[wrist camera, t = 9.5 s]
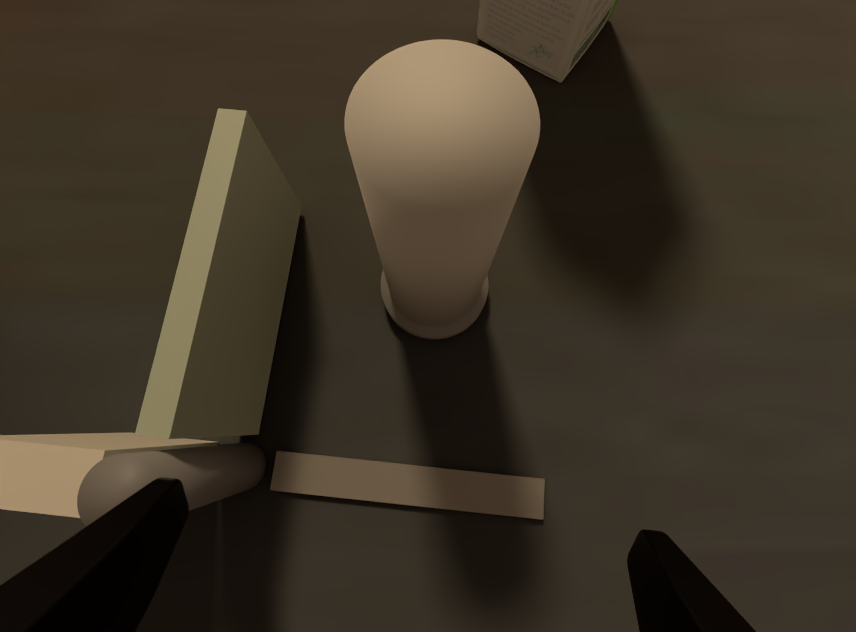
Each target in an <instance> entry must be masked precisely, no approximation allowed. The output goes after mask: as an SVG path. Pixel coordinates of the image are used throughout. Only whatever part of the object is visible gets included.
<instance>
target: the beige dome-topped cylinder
mask: <svg viewBox="0 0 856 632" xmlns="http://www.w3.org/2000/svg"><path fill="white" fill-rule="evenodd" d="M345 134H346V140H347V144H348V147H349V151H350V154H351V158H352V161H353V165H354V168H355V172H356V175H357V179H358V182H359V186H360V189H361V193H362V196H363V200H364V203H365V207H366V210H367V214H368V217H369V221H370V224H371V228H372V231H373V235H374V238H375V242H376V245H377V249H378V252H379V256H380V260H381V263H382V267H383V272H382V276H381V294H382V298H383V301H384V304H385V307H386V309H387V312H388V314H389V315H390V317H391V318H392V320H393V321H394V322H395V323H396V324H397V325H398V326H399V327H400V328H401V329H403V330H404V331H406V332H407V333H409V334H411V335H413V336H416V337H418V338H422V339H428V340H441V339H447V338H450V337H454V336H456V335H458V334H460V333H462V332H463V331H465V330H466V329H468V328H469V327H470V326H471V325H472V324H473V323H474V322H475V321H476V319H477V318H478V316H479V315H480V313H481V311H482V309H483V307H484V305H485V302H486V299H487V295H488V276H487V273H488V271H489V268H490V266H491V263H492V260H493V258H494V255H495V253H496V250H497V248H498V245H499V243H500V240H501V237H502V235H503V232H504V230H505V227H506V225H507V222H508V220H509V217H510V214H511V212H512V209H513V207H514V204H515V202H516V199H517V197H518V194H519V191H520V189H521V186H522V184H523V181H524V179H525V176H526V174H527V171H528V169H529V166H530V163H531V161H532V158H533V156H534V153H535V150H536V147H537V144H538V140H539V135H540V115H539V109H538V105H537V102H536V99H535V96H534V94H533V92H532V90H531V88H530V86H529V85H528V83H527V81H526V80H525V79H524V77H523V76H522V75H521V74H520V73H519V71H518V70H517V69H516V68H514V67H513V66H512V65H511V64H510V63H509V62H508V61H506V60H505V59H503V58H502V57H501V56H499V55H497V54H495V53H494V52H492V51H490V50H488V49H485V48H483V47H480V46H478V45H474V44H471V43H467V42H462V41H456V40H428V41H421V42H416V43H412V44H409V45H406V46H403V47H400V48H398V49H396V50H394V51H392V52H390V53H388V54H386V55H385V56H383V57H382V58H380V59H379V60H377V61H376V62H375V63H374V64H373V65H371V66H370V67H369V68H368V69H367V70H366V71H365V72H364V74H363V75H362V76H361V77H360V79H359V80H358V82H357V83H356V85H355V86H354V88H353V90H352V92H351V94H350V97H349V100H348V103H347V106H346V112H345Z"/></svg>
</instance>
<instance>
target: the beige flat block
mask: <svg viewBox="0 0 856 632" xmlns="http://www.w3.org/2000/svg"><path fill="white" fill-rule="evenodd" d="M300 212H301V205H300V203H299V201H298V200H297V198H296V196H295V194H294V193H293V191H292V189H291V187H290V186H289V184H288V182H287V181H286V179H285V177H284V175H283V174H282V172H281V170H280V168H279V167H278V165H277V163H276V161H275V160H274V158H273V156H272V154H271V153H270V151H269V149H268V147H267V146H266V144H265V142H264V140H263V139H262V137H261V135H260V133H259V132H258V130H257V128H256V126H255V125H254V123H253V121H252V119H251V118H250V116H249V114H248V112H247V111H241V110H230V109H218V111H217V115H216V119H215V123H214V127H213V131H212V135H211V139H210V143H209V147H208V151H207V154H206V158H205V162H204V166H203V170H202V174H201V178H200V182H199V186H198V190H197V194H196V198H195V201H194V205H193V209H192V213H191V217H190V221H189V225H188V229H187V233H186V237H185V241H184V244H183V248H182V252H181V256H180V260H179V264H178V268H177V272H176V276H175V280H174V284H173V288H172V291H171V295H170V299H169V303H168V307H167V311H166V315H165V319H164V323H163V327H162V331H161V335H160V338H159V342H158V346H157V350H156V354H155V358H154V362H153V366H152V370H151V374H150V378H149V381H148V385H147V389H146V393H145V397H144V401H143V405H142V409H141V413H140V417H139V421H138V425H137V428H136V432H135V436H144V437H154V438H163V439H181V438H201V437H221V436H242V435H259V429H260V424H261V419H262V413H263V408H264V403H265V397H266V392H267V387H268V382H269V376H270V371H271V366H272V360H273V355H274V350H275V344H276V339H277V334H278V329H279V323H280V318H281V313H282V307H283V302H284V297H285V291H286V286H287V281H288V276H289V270H290V265H291V260H292V254H293V249H294V244H295V238H296V233H297V228H298V223H299V217H300Z"/></svg>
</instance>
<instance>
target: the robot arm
mask: <svg viewBox="0 0 856 632" xmlns="http://www.w3.org/2000/svg"><path fill="white" fill-rule="evenodd" d="M188 513H189V503H188V500H187V497H186V493H185V490H184V487H183V483H182V482H181V481H180V480H179V479H175V478H166V477H160V478H157V479H155V480H153V481H152V482H150V483H149V484H147V485H146V486H144V487H143V488H141V489H140V490H139V491H137V492H136V493H134V494H133V495H131V496H130V497H128V498H127V499H125V500H124V501H122V502H121V503H120V504H118V505H117V506H115V507H114V508H112V509H111V510H109V511H108V512H106V513H105V514H104V515H102V516H101V517H99V518H98V519H96V520H95V521H93V522H92V523H90V524H89V525H88V526H86V527H85V528H83V529H82V530H80V531H79V532H77V533H76V534H74V535H73V536H72V537H70V538H69V539H67V540H66V541H64V542H63V543H61V544H60V545H58V546H57V547H56V548H54V549H53V550H51V551H50V552H48V553H47V554H45V555H44V556H42V557H41V558H40V559H38V560H37V561H35V562H34V563H32V564H31V565H29V566H28V567H26V568H25V569H24V570H22V571H21V572H19V573H18V574H16V575H15V576H13V577H12V578H10V579H9V580H8V581H6V582H5V583H3V584H2V585H0V632H135V631H136V629H137V627H138V625H139V623H140V621H141V619H142V618H143V616H144V614H145V612H146V610H147V608H148V606H149V604H150V602H151V600H152V598H153V596H154V594H155V592H156V590H157V587H158V585H159V583H160V580H161V578H162V576H163V573H164V571H165V569H166V566H167V564H168V562H169V559H170V557H171V555H172V552H173V550H174V548H175V545H176V543H177V541H178V538H179V536H180V534H181V531H182V529H183V527H184V524H185V522H186V520H187V517H188ZM627 564H628V571H629V577H630V582H631V587H632V593H633V598H634V604H635V609H636V614H637V620H638V625H639V631H640V632H756V631H755V630H754V629H753V628H752V627H751V626H750V625H749V623H748V622H747V621H746V620H745V619H744V618H743V617H742V616H741V615H740V614H739V613H738V611H737V610H736V609H735V608H734V607H733V606H732V605H731V604H730V603H729V602H728V601H727V599H726V598H725V597H724V596H723V595H722V594H721V593H720V592H719V591H718V590H717V589H716V587H715V586H714V585H713V584H712V583H711V582H710V581H709V580H708V579H707V578H706V577H705V576H704V574H703V573H702V572H701V571H700V570H699V569H698V568H697V567H696V566H695V565H694V564H693V562H692V561H691V560H690V559H689V558H688V557H687V556H686V555H685V554H684V553H683V552H682V550H681V549H680V548H679V547H678V546H677V545H676V544H675V543H674V542H673V541H672V540H671V538H670V537H669V536H668V535H666V534H665V533H663V532H661V531H654V530H641V531H640V532H639V533H638V535H637V537H636V539H635V541H634V543H633V545H632V547H631V549H630V552H629V554H628V559H627Z"/></svg>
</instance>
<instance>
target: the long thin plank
mask: <svg viewBox="0 0 856 632" xmlns="http://www.w3.org/2000/svg"><path fill="white" fill-rule="evenodd" d="M266 466H267V462H266V457H265V455H264V453H263V451H262V450H261V449H260V448H259V447H258V446H256V445H254V444H252V443H235V444H224V445H218V442H214V441H204V440H195V439H185V438H181V439H163V438H154V437H144V436H135V433H89V434H42V435H0V509H5V510H14V511H23V512H32V513H41V514H50V515H59V516H68V517H77V518H81V520H82V522H83V523H84V525H85V526H88V525H89V524H90V523H92V522H93V521H95V520H96V519H98V518H99V517H101V516H102V515H104V514H105V513H106V512H108V511H109V510H111V509H112V508H114V507H115V506H117V505H118V504H120V503H121V502H122V501H124V500H125V499H127V498H128V497H130V496H131V495H133V494H134V493H136V492H137V491H139V490H140V489H141V488H143V487H144V486H146V485H147V484H149V483H150V482H152V481H153V480H155V479H157V478H160V477H166V478H175V479H179V480H180V481H181V482H182V483H183V487H184V490H185V493H186V497H187V500H188V503H189V511H190V510H193V509H196V508H199V507H201V506H204V505H207V504H210V503H213V502H216V501H218V500H221V499H224V498H227V497H230V496H232V495H235V494H238V493H241V492H244V491H246V490H249V489H252V488H253V487H255V486H256V485H257V484H258V483H259V482H260V481H261V480H262V478H263V477H264V474H265V472H266ZM544 485H545V479H541V478H532V477H523V476H513V475H504V474H494V473H485V472H475V471H466V470H456V469H447V468H437V467H428V466H418V465H409V464H399V463H390V462H380V461H371V460H362V459H352V458H343V457H333V456H324V455H314V454H305V453H295V452H286V451H277V453H276V458H275V464H274V470H273V475H272V481H271V487H270V490H272V491H282V492H291V493H300V494H309V495H319V496H328V497H337V498H347V499H356V500H365V501H374V502H384V503H393V504H402V505H411V506H421V507H430V508H439V509H449V510H458V511H467V512H476V513H486V514H495V515H504V516H514V517H523V518H532V519H541V520H543V515H544Z"/></svg>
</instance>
